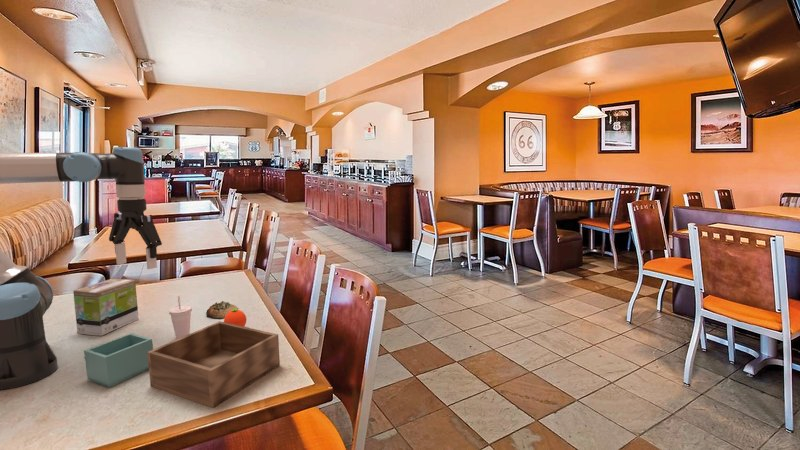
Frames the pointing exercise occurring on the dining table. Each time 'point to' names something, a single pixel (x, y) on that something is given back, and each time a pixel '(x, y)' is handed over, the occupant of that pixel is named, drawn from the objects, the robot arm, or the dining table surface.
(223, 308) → the bread roll
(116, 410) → the dining table surface
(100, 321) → the tea box
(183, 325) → the smoothie
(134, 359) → the teal crate
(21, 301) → the robot arm
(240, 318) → the clementine
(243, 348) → the walnut crate
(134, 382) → the dining table surface
